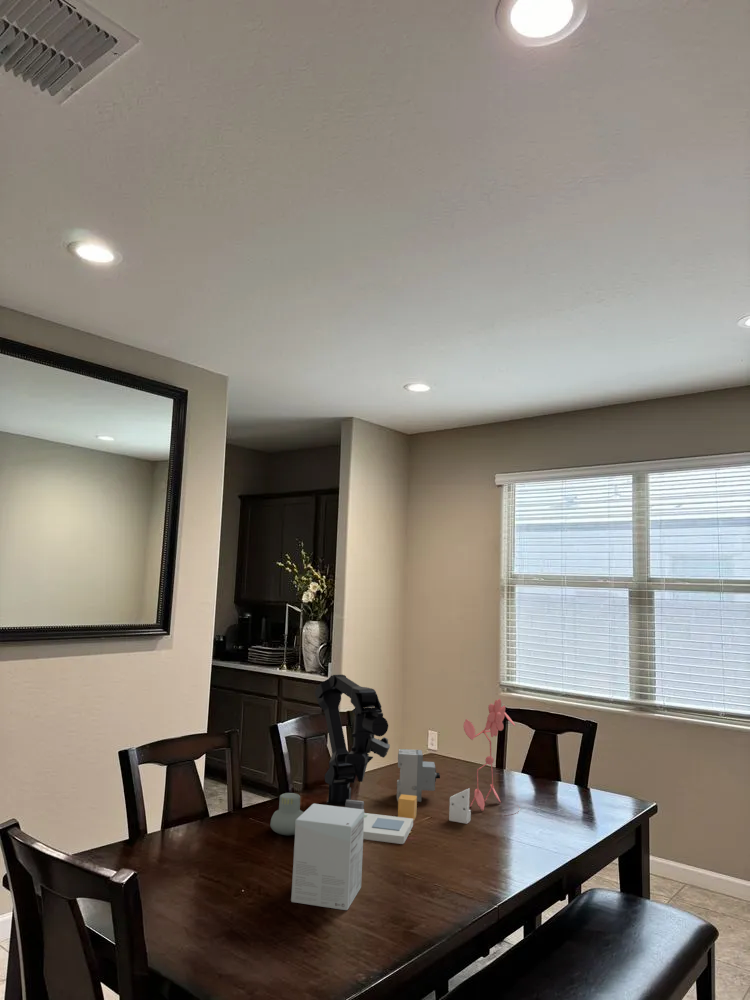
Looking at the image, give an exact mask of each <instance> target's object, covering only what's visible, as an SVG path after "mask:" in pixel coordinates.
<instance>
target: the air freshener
mask: <svg viewBox="0 0 750 1000" xmlns="http://www.w3.org/2000/svg"><path fill="white" fill-rule="evenodd" d="M278 804H279V805H278V809H277V810H275V811H274V812H273V814H272V816H271V819H270V828H271V830H272V831H273V832H275V833H277V834H278V835H282V836H295V821H296V819H297V818H298V817H299V816H301V815H302V814H303V813H304V812H305V811H303V810H301V809H300V808H301V795H299V794H298V793H296V792H295V793H294V792H285V793H282V794H280V795H279V802H278Z"/></svg>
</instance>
